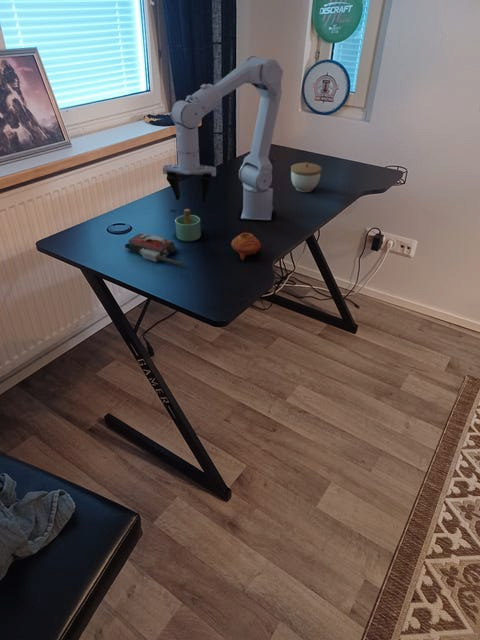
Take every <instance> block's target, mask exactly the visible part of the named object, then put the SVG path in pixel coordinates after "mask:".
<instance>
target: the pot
mask: <svg viewBox="0 0 480 640" xmlns="http://www.w3.org/2000/svg"><path fill="white" fill-rule="evenodd" d="M230 243H231V247H232V249H233V251H234V252H235V253H237V254H239V256H240V260H241V261H244V260H245V258H246V256H251V255H257V253H258V251H259V250H260V248H261V247H262V244H261V242H260V241H259V239H258V238H257V237H255V235H254V234H252V233H250V232H242V233H241V234H239V235H237V236H236V237H234V238H233V239H232V241H231V242H230Z"/></svg>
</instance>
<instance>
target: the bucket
mask: <svg viewBox="0 0 480 640" xmlns="http://www.w3.org/2000/svg"><path fill="white" fill-rule="evenodd" d="M190 216H191V223H193V224H190V225H183V224H185V220H184V214H183V215H179V216H177V217H176V218H175V219H174V225H175V235H176V238H177V239H178V240H179V241H182V242H192V241H193V242H194V241H197V240H198V239H200V238H201V237H202V227H201V226H202V225H201V224H202V223H201V218H200V217H199V216H198V215H194V214H190Z"/></svg>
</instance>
